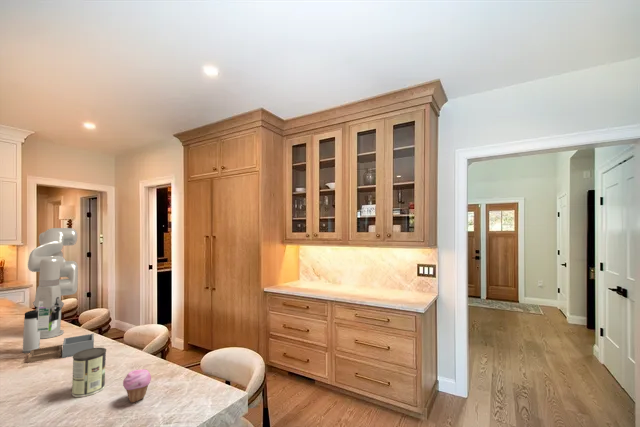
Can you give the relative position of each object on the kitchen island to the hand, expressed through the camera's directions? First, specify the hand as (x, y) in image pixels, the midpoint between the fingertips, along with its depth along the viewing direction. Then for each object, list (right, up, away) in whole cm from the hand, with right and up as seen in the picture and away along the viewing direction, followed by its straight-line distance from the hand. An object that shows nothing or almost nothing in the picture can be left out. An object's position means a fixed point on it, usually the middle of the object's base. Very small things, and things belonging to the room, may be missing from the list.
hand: (47, 319), depth 151 cm
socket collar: (0, -17, -1) cm, 17 cm away
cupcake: (+67, -16, -39) cm, 79 cm away
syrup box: (0, -5, 0) cm, 5 cm away
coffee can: (+45, -16, -33) cm, 58 cm away
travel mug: (-13, -18, +5) cm, 22 cm away
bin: (+12, -18, +5) cm, 22 cm away
